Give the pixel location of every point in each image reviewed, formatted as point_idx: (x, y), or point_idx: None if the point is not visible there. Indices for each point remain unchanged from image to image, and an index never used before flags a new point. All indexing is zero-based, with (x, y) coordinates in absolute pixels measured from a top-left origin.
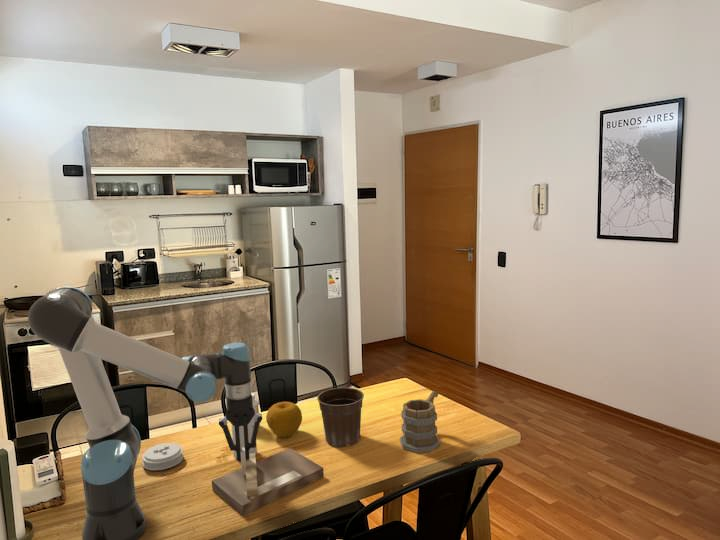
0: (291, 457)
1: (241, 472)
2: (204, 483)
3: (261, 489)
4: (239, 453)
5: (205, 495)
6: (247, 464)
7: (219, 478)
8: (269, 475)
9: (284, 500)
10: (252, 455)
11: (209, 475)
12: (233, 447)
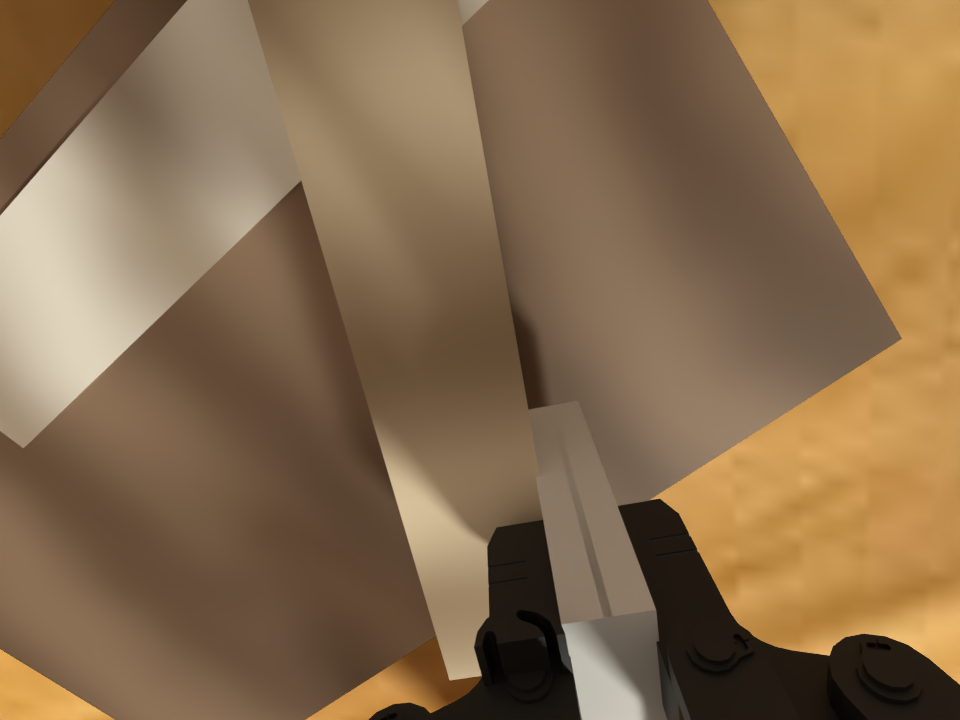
0: (143, 657)
1: None
2: (902, 411)
3: None
4: (665, 601)
5: (901, 215)
6: (504, 435)
7: (815, 369)
8: (267, 380)
9: (58, 33)
10: (474, 635)
11: (856, 519)
12: (868, 710)
